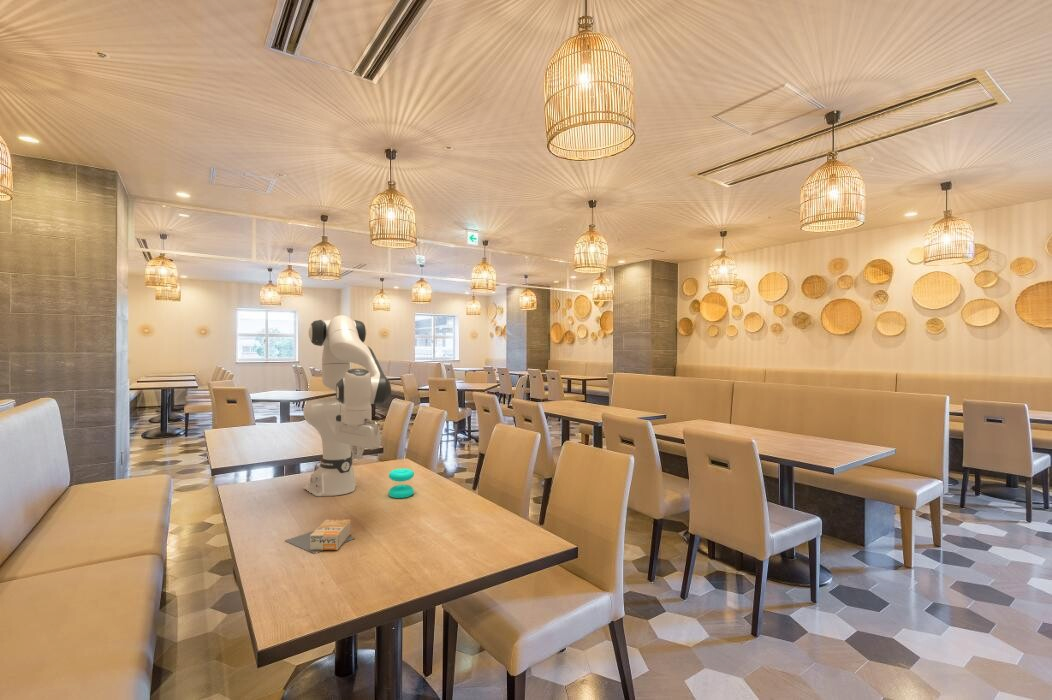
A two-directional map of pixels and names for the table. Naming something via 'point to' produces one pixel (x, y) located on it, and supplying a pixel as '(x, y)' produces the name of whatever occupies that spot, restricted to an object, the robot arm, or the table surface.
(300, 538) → the felt mat
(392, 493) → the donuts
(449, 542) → the table surface
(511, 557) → the table surface
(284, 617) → the table surface
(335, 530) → the supplement box
